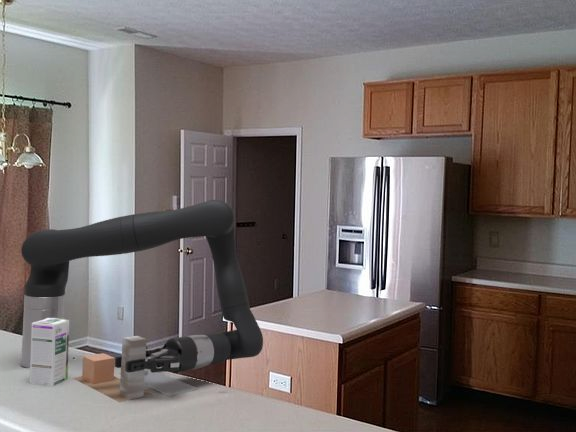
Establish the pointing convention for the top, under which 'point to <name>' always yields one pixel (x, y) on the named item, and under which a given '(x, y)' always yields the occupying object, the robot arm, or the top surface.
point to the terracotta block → (98, 368)
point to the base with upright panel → (125, 374)
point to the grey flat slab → (166, 384)
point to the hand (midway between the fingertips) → (121, 364)
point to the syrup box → (49, 351)
